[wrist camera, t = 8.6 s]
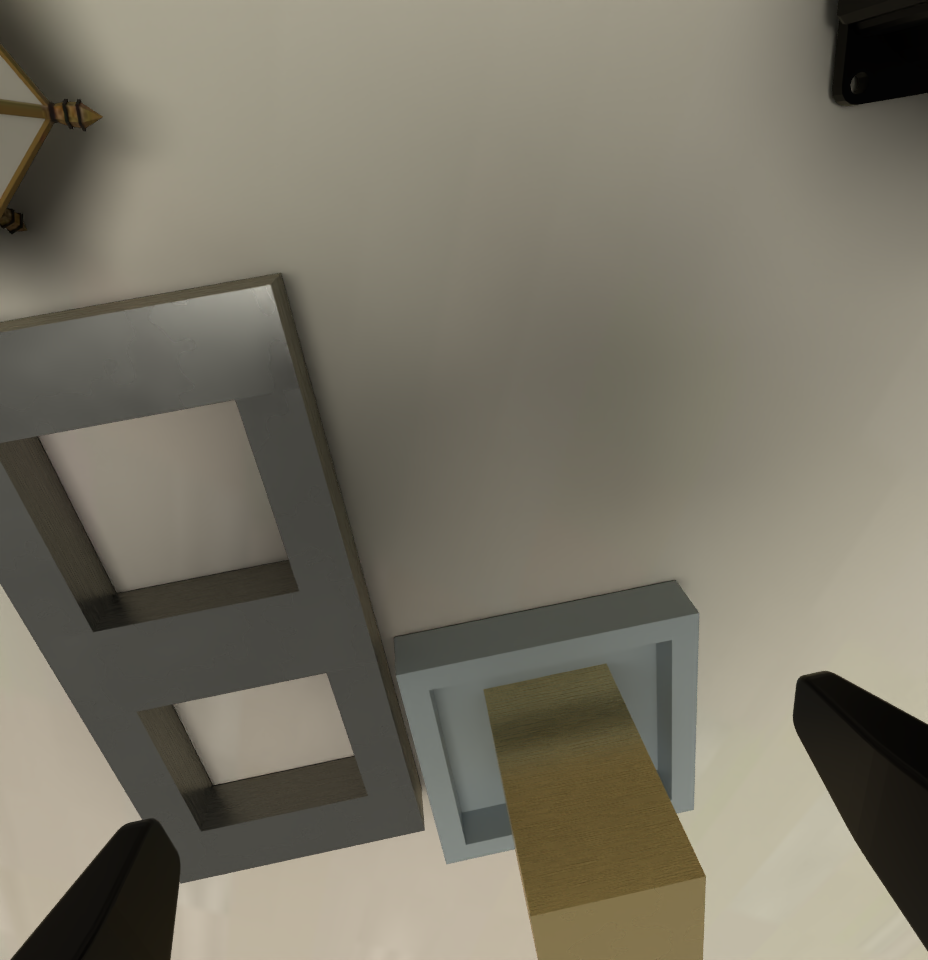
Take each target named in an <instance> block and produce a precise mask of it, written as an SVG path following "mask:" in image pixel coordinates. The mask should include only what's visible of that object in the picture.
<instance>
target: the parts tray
mask: <svg viewBox="0 0 928 960" xmlns="http://www.w3.org/2000/svg"><path fill="white" fill-rule="evenodd" d="M698 641H699V612H698V611H697V609H696V608H695V606H694V605H693V604H692V602H691V601H690V600H689V598H688V597H687V595H686V594H685V593H684V591H683V590H682V589H681V587H680V586H679V584H678V583H677V582H676V580H675V581H670V582H665V583H660V584H655V585H650V586H645V587H641V588H636V589H631V590H626V591H621V592H616V593H611V594H606V595H601V596H596V597H591V598H586V599H582V600H577V601H572V602H567V603H562V604H557V605H552V606H547V607H542V608H537V609H532V610H527V611H523V612H518V613H513V614H508V615H503V616H498V617H493V618H488V619H483V620H478V621H473V622H468V623H464V624H459V625H454V626H449V627H444V628H439V629H434V630H429V631H424V632H419V633H414V634H409V635H405V636H400V637H395V638H394V644H395V668H396V678H397V682H398V686H399V689H400V693H401V697H402V700H403V704H404V708H405V712H406V715H407V719H408V723H409V727H410V730H411V734H412V738H413V741H414V745H415V749H416V753H417V756H418V760H419V764H420V767H421V771H422V775H423V779H424V782H425V786H426V790H427V794H428V797H429V801H430V805H431V808H432V812H433V816H434V820H435V823H436V827H437V831H438V835H439V838H440V842H441V846H442V849H443V853H444V857H445V861H446V864H450V863H455V862H459V861H464V860H468V859H473V858H477V857H482V856H486V855H491V854H495V853H500V852H504V851H509V850H513V849H515V846H514V842H513V837H512V832H511V827H510V822H509V817H508V812H507V808H506V803H505V798H504V793H503V788H502V783H501V778H500V774H499V768H498V763H497V758H496V753H495V748H494V742H493V737H492V732H491V727H490V721H489V716H488V711H487V706H486V701H485V695H484V690H483V689H488V688H492V687H497V686H502V685H507V684H511V683H516V682H521V681H525V680H530V679H535V678H540V677H544V676H549V675H554V674H558V673H563V672H568V671H573V670H577V669H582V668H587V667H591V666H596V665H601V664H605V663H606V664H607V666H608V668H609V670H610V672H611V674H612V676H613V679H614V681H615V683H616V685H617V687H618V689H619V691H620V694H621V696H622V698H623V700H624V702H625V704H626V706H627V709H628V711H629V713H630V715H631V717H632V719H633V721H634V724H635V726H636V728H637V730H638V732H639V734H640V736H641V739H642V741H643V743H644V745H645V747H646V749H647V751H648V754H649V756H650V758H651V760H652V762H653V764H654V766H655V769H656V771H657V773H658V775H659V777H660V779H661V781H662V784H663V786H664V788H665V790H666V792H667V794H668V796H669V799H670V801H671V803H672V805H673V807H674V809H675V812H676V814H677V813H681V812H686V811H690V810H694V786H695V749H696V713H697V677H698Z"/></svg>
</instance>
